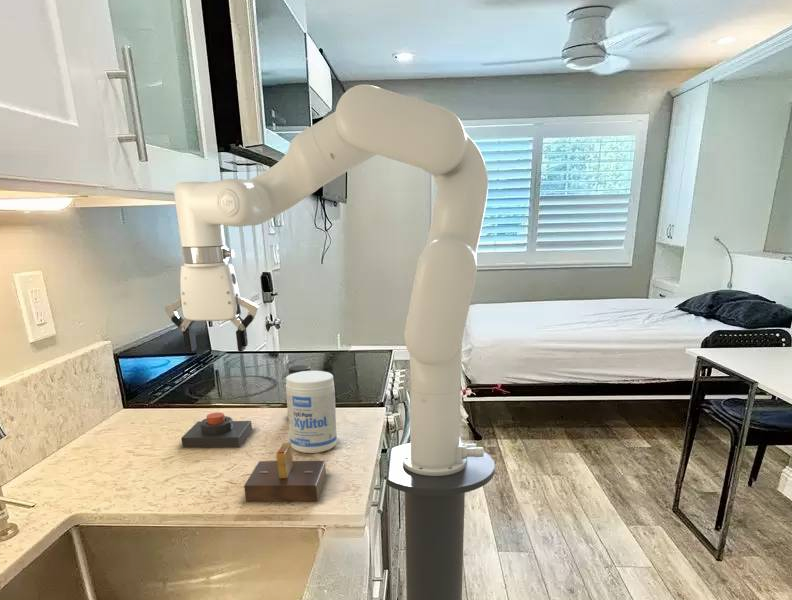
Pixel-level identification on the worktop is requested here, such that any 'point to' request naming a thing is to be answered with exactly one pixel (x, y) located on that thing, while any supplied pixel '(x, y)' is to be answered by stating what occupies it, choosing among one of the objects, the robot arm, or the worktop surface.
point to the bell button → (215, 418)
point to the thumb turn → (284, 460)
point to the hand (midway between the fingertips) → (217, 350)
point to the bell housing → (217, 434)
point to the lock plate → (285, 482)
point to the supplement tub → (311, 411)
